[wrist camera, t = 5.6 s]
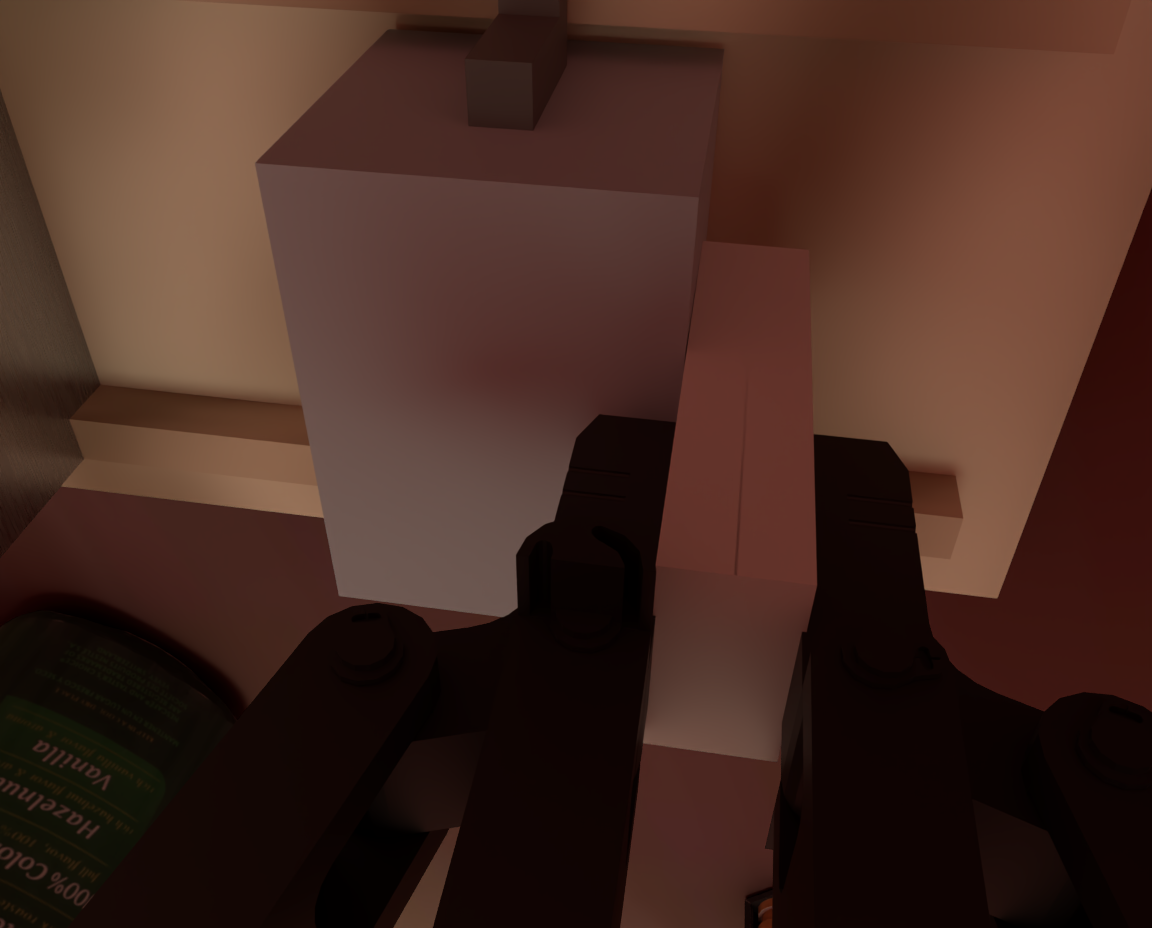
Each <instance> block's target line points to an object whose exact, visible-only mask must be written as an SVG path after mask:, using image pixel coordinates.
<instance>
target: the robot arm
mask: <svg viewBox="0 0 1152 928" xmlns="http://www.w3.org/2000/svg"><path fill="white" fill-rule="evenodd" d="M912 503H913V499H912V492H911V484H910V477H909V470H908V469H907V468H906V466H905V465H904V464H903V462H902V461H901V459H900V458H899V457H898V455H897V454H896V453H895V451H894V450H893V449H892V447H891V446H890V444H889V443H888V442H885V441H876V440H866V439H857V438H847V437H838V436H828V435H819V434H813V391H812V349H811V306H810V264H809V250H804V249H793V248H781V247H769V246H757V245H745V244H734V243H722V242H710V241H703V242H702V249H701V256H700V263H699V270H698V277H697V284H696V290H695V297H694V304H693V311H692V318H691V325H690V332H689V339H688V345H687V352H686V359H685V366H684V373H683V380H682V387H681V394H680V400H679V407H678V414H677V421H676V422H669V421H660V420H650V419H641V418H631V417H622V416H612V415H603V414H599V415H598V416H597V417H596V418H595V419H594V420H593V421H592V422H591V423H590V424H589V425H588V426H587V427H586V428H585V429H584V430H583V431H582V432H581V433H580V434H579V435H578V436H577V437H576V440H575V444H574V448H573V452H572V455H571V459H570V463H569V469H568V472H567V474H566V478H565V482H564V486H563V491H562V495H561V497H560V501H559V505H558V508H557V512H556V516H555V520H554V521H553V522H550V523H547V524H544V525H543V526H542V527H540V528H539V529H537V530H536V531H534V532H533V533H532V534H530V535H529V536H527V537H526V539H525V540H524V542H523V544H522V545H521V547H520V549H519V550H518V552H517V554H516V576H517V604H518V608H517V609H515V610H514V611H512V612H511V613H510V614H508V615H506V616H504V617H502V618H499V619H497V620H495V621H493V622H490V623H487V624H482V625H478V626H473V627H469V628H461V629H454V630H446V631H439V632H432V630H431V629H430V628H429V626H428V625H427V624H426V622H425V621H424V619H423V618H422V617H420V616H418V615H416V614H414V613H413V612H411V611H409V610H407V609H405V608H404V607H399V606H393V605H387V604H381V603H374V604H366V605H359V606H352V607H349V608H347V609H345V610H342V611H340V612H338V613H335V614H333V615H331V616H328V617H327V618H326V619H324V620H323V621H322V622H321V623H320V624H319V625H318V626H316V627H315V628H314V629H313V630H312V631H311V632H309V633H308V634H307V636H306V637H305V638H304V639H303V641H302V642H301V643H300V644H299V645H298V647H297V648H296V649H295V650H294V652H293V653H292V654H291V655H290V656H289V658H288V659H287V660H286V661H285V663H284V664H283V665H282V666H281V667H280V669H279V670H278V671H277V672H276V674H275V675H274V676H273V677H272V678H271V680H270V681H269V682H268V683H267V685H266V686H265V687H264V688H263V689H262V691H261V692H260V693H259V694H258V696H257V697H256V698H255V699H254V700H253V702H252V703H251V704H250V705H249V706H248V708H247V709H246V710H245V711H244V713H243V714H242V715H241V716H240V717H239V719H238V720H237V721H236V722H235V724H234V725H233V726H232V727H231V728H230V730H229V731H228V732H227V733H226V735H225V736H224V737H223V738H222V739H221V741H220V742H219V743H218V744H217V746H216V747H215V748H214V749H213V750H212V752H211V753H210V754H209V755H208V757H207V758H206V759H205V760H204V761H203V763H202V764H201V765H200V766H199V768H198V769H197V770H196V771H195V772H194V774H193V775H192V776H191V777H190V779H189V780H188V781H187V782H186V783H185V785H184V786H183V787H182V788H181V790H180V791H179V792H178V793H177V794H176V796H175V797H174V798H173V799H172V800H171V802H170V803H169V804H168V805H167V807H166V808H165V809H164V810H163V811H162V813H161V814H160V815H159V816H158V818H157V819H156V820H155V821H154V822H153V824H152V825H151V826H150V827H149V829H148V830H147V831H146V832H145V833H144V835H143V836H142V837H141V838H140V840H139V841H138V842H137V843H136V844H135V846H134V847H133V848H132V849H131V851H130V852H129V853H128V854H127V855H126V857H125V858H124V859H123V860H122V862H121V863H120V864H119V865H118V866H117V868H116V869H115V870H114V871H113V873H112V874H111V875H110V876H109V877H108V879H107V880H106V881H105V882H104V884H103V885H102V886H101V887H100V888H99V890H98V891H97V892H96V893H95V894H94V896H93V897H92V898H91V899H90V901H89V902H88V903H87V904H86V905H85V907H84V908H83V909H82V910H81V912H80V913H79V914H78V915H77V916H76V918H75V919H74V920H73V921H72V923H71V924H70V925H69V926H68V927H67V928H393V927H394V925H395V924H396V922H397V920H398V918H399V917H400V915H401V913H402V911H403V910H404V908H405V906H406V904H407V903H408V901H409V899H410V897H411V896H412V894H413V892H414V890H415V889H416V887H417V885H418V883H419V882H420V880H421V878H422V876H423V874H424V873H425V871H426V869H427V867H428V866H429V864H430V862H431V860H432V859H433V857H434V855H435V853H436V852H437V850H438V848H439V846H440V845H441V843H442V841H443V839H444V838H445V836H446V834H447V832H448V830H449V828H453V827H459V826H460V830H459V834H458V837H457V841H456V845H455V848H454V852H453V856H452V859H451V863H450V867H449V870H448V874H447V878H446V881H445V885H444V889H443V892H442V896H441V900H440V903H439V907H438V911H437V915H436V918H435V922H434V926H433V928H620V924H621V916H622V908H623V901H624V893H625V885H626V878H627V870H628V862H629V854H630V847H631V839H632V831H633V824H634V816H635V808H636V800H637V793H638V783H639V771H640V761H641V754H642V746H643V743H646V744H653V745H660V746H667V747H674V748H681V749H688V750H695V751H702V752H709V753H717V754H724V755H731V756H738V757H745V758H752V759H759V760H766V761H773V762H777V761H778V757H779V752H780V748H781V781H780V786H779V790H778V794H777V799H776V803H775V807H774V811H773V816H772V820H771V824H770V829H769V833H768V837H767V842H766V846H765V849H772V850H773V898H772V928H1152V712H1150V711H1149V710H1147V709H1146V708H1145V707H1143V706H1140V705H1138V704H1135V703H1132V702H1130V701H1127V700H1124V699H1122V698H1119V697H1116V696H1114V695H1106V694H1096V693H1086V692H1083V693H1079V694H1075V695H1071V696H1067V697H1063V698H1059V699H1058V700H1057V701H1056V702H1055V703H1054V704H1053V705H1051V706H1050V707H1049V708H1048V709H1047V710H1046V711H1045V712H1044V711H1041V710H1039V709H1036V708H1033V707H1031V706H1028V705H1026V704H1023V703H1021V702H1018V701H1016V700H1013V699H1010V698H1008V697H1005V696H1003V695H1000V694H998V693H996V692H993V691H991V690H989V689H987V688H985V687H983V686H981V685H979V684H977V683H975V682H974V681H973V680H971V679H970V678H968V677H967V676H966V675H964V674H963V673H961V672H960V671H959V670H957V669H956V667H955V666H954V665H953V664H952V663H951V662H950V661H949V658H948V656H947V653H946V651H945V649H944V648H943V647H942V646H941V645H940V644H939V643H938V642H937V640H936V639H935V638H934V637H933V635H932V632H931V628H930V625H929V619H928V612H927V604H926V597H925V589H924V582H923V574H922V567H921V559H920V552H919V544H918V537H917V533H916V522H915V514H914V508H912ZM781 743H782V746H781Z"/></svg>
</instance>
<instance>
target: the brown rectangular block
mask: <svg viewBox="0 0 1152 928" xmlns="http://www.w3.org/2000/svg"><path fill="white" fill-rule="evenodd" d="M100 385H101V384H100V381H99V378H98V375H97V373H96V370H95V367H94V364H93V361H92V358H91V355H90V352H89V349H88V346H87V343H86V340H85V337H84V334H83V331H82V328H81V325H80V322H79V320H78V317H77V314H76V311H75V308H74V305H73V302H72V299H71V296H70V293H69V290H68V287H67V284H66V281H65V278H64V275H63V272H62V269H61V266H60V264H59V261H58V258H57V255H56V252H55V249H54V246H53V243H52V240H51V237H50V234H49V231H48V228H47V225H46V222H45V219H44V216H43V213H42V210H41V208H40V205H39V202H38V199H37V196H36V193H35V190H34V187H33V184H32V181H31V178H30V175H29V172H28V169H27V166H26V163H25V160H24V157H23V154H22V152H21V149H20V146H19V143H18V140H17V137H16V134H15V131H14V128H13V125H12V122H11V119H10V116H9V113H8V110H7V107H6V104H5V101H4V98H3V96H2V93H1V90H0V558H1V556H2V555H3V554H4V553H5V552H6V550H7V549H8V548H9V547H10V546H11V545H12V543H13V542H14V541H15V540H16V539H17V537H18V536H19V535H20V534H21V533H22V532H23V530H24V529H25V528H26V527H27V526H28V524H29V523H30V522H31V521H32V520H33V519H34V517H35V516H36V515H37V514H38V513H39V512H40V510H41V509H42V508H43V507H44V506H45V504H46V503H47V502H48V501H49V500H50V499H51V497H52V496H53V495H54V494H55V493H56V491H57V490H58V489H59V488H60V487H61V486H62V484H63V483H64V482H65V481H66V480H67V478H68V477H69V476H70V475H71V474H72V473H73V471H74V470H75V469H76V468H77V467H78V466H79V464H80V463H81V462H82V461H83V460H84V457H83V455H82V452H81V449H80V447H79V444H78V441H77V438H76V436H75V433H74V430H73V428H72V425H71V422H70V420H69V419H70V418H71V417H72V416H73V415H74V414H75V412H76V411H77V410H78V409H79V408H80V407H81V406H82V405H83V404H84V403H85V401H86V400H87V399H88V398H89V397H90V396H91V395H92V394H93V393H94V392H95V390H96V389H97V388H98V387H99V386H100Z"/></svg>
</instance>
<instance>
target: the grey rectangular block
mask: <svg viewBox="0 0 1152 928" xmlns="http://www.w3.org/2000/svg"><path fill="white" fill-rule="evenodd" d="M498 13H499V14H498V15H497V17H496V18H495V19H494V20H493V22H492V23H491V24H490V26H489V27H488V28H487V30H486V31H485V32H484V34H483V35H481V34H464V33H448V32H431V31H414V30H397V29H388V30H387V31H386V32H385V33H384V34H383V35H382V36H381V37H380V38H379V39H378V40H377V41H376V42H375V43H374V44H373V45H372V46H371V47H370V48H369V49H368V50H367V51H366V52H365V53H364V54H363V55H362V56H361V57H360V58H359V59H358V60H357V61H356V62H355V63H354V64H353V65H352V66H351V67H350V68H349V69H348V70H347V71H346V72H345V73H344V74H343V75H342V76H341V77H340V78H339V79H338V80H337V81H336V82H335V83H334V84H333V85H332V86H331V87H330V88H329V89H328V90H327V91H326V92H325V93H324V94H323V95H322V96H321V97H320V98H319V99H318V100H317V101H316V102H315V103H314V104H313V105H312V106H311V107H310V108H309V109H308V110H307V111H306V112H305V113H304V114H303V115H302V116H301V117H300V118H299V119H298V120H297V121H296V122H295V123H294V124H293V125H292V126H291V127H290V128H289V129H288V130H287V131H286V132H285V133H284V134H283V135H282V136H281V137H280V138H279V139H278V140H277V141H276V142H275V143H274V144H273V145H272V146H271V147H270V148H269V149H268V150H267V151H266V152H265V153H264V154H263V155H262V156H261V157H260V158H259V159H258V160H257V161H256V162H255V167H256V172H257V177H258V182H259V188H260V193H261V198H262V203H263V208H264V213H265V218H266V223H267V229H268V234H269V239H270V244H271V249H272V254H273V259H274V265H275V270H276V275H277V280H278V285H279V290H280V295H281V300H282V306H283V311H284V316H285V321H286V326H287V331H288V336H289V341H290V347H291V352H292V357H293V362H294V367H295V372H296V377H297V383H298V388H299V393H300V398H301V403H302V408H303V413H304V418H305V424H306V429H307V434H308V439H309V444H310V449H311V454H312V459H313V465H314V470H315V475H316V480H317V485H318V490H319V495H320V501H321V506H322V511H323V516H324V521H325V526H326V531H327V536H328V542H329V547H330V552H331V557H332V562H333V567H334V572H335V577H336V583H337V588H338V593H339V596H344V597H352V598H360V599H367V600H375V601H383V602H391V603H398V604H406V605H414V606H422V607H429V608H437V609H445V610H453V611H460V612H468V613H476V614H484V615H491V616H499V617H504V616H506V615H508V614H510V613H511V612H512V611H514V610H515V609H517V608H518V604H517V576H516V554H517V552H518V550H519V549H520V547H521V545H522V544H523V542H524V540H525V539H526V537H527V536H529V535H530V534H532V533H533V532H534V531H536V530H537V529H539V528H540V527H542V526H543V525H544V524H547V523H550V522H553V521H554V520H555V516H556V512H557V508H558V505H559V501H560V497H561V495H562V491H563V486H564V482H565V478H566V474H567V472H568V469H569V463H570V459H571V455H572V452H573V448H574V444H575V440H576V437H577V436H578V435H579V434H580V433H581V432H582V431H583V430H584V429H585V428H586V427H587V426H588V425H589V424H590V423H591V422H592V421H593V420H594V419H595V418H596V417H597V416H598V415H599V414H603V415H612V416H622V417H631V418H641V419H650V420H660V421H669V422H676V421H677V414H678V407H679V400H680V394H681V387H682V380H683V373H684V366H685V359H686V352H687V345H688V339H689V332H690V325H691V318H692V311H693V304H694V297H695V290H696V284H697V277H698V270H699V263H700V256H701V249H702V242H703V241H706V239H707V228H708V217H709V207H710V196H711V185H712V175H713V164H714V154H715V143H716V132H717V122H718V111H719V100H720V90H721V79H722V69H723V58H724V49H716V48H699V47H682V46H666V45H649V44H632V43H615V42H599V41H582V40H567V0H498Z"/></svg>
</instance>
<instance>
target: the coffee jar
mask: <svg viewBox="0 0 1152 928" xmlns="http://www.w3.org/2000/svg"><path fill="white" fill-rule="evenodd" d="M236 721H237V720H236V718H235V717H234V715H233V714H232V712H231V711H230V710H229V708H228V707H227V706H226V705H225V703H224V702H223V701H222V700H221V699H220V698H219V697H218V696H217V695H216V694H215V693H213V692H212V691H211V690H210V689H209V688H208V687H207V686H206V685H205V684H204V683H203V682H202V681H201V680H200V679H199V678H198V676H197V675H196V674H195V673H194V672H193V671H192V670H191V669H189V668H188V667H187V666H186V665H184V664H183V663H182V662H181V661H179V660H178V659H176V658H175V657H173V656H172V655H170V654H169V653H167V652H166V651H164V650H162V649H161V648H159V647H158V646H156V645H154V644H152V643H150V642H148V641H146V640H144V639H142V638H140V637H138V636H136V635H133V634H131V633H129V632H127V631H123V630H119V629H115V628H111V627H108V626H104V625H102V624H99V623H95V622H92V621H89V620H86V619H84V618H79V617H75V616H71V615H66V614H62V613H57V612H55V611H36V612H32V613H28V614H24V615H21V616H18V617H16V618H14V619H12V620H10V621H9V622H7V623H5V624H4V625H2V626H1V627H0V928H67V927H68V926H69V925H70V924H71V923H72V921H73V920H74V919H75V918H76V916H77V915H78V914H79V913H80V912H81V910H82V909H83V908H84V907H85V905H86V904H87V903H88V902H89V901H90V899H91V898H92V897H93V896H94V894H95V893H96V892H97V891H98V890H99V888H100V887H101V886H102V885H103V884H104V882H105V881H106V880H107V879H108V877H109V876H110V875H111V874H112V873H113V871H114V870H115V869H116V868H117V866H118V865H119V864H120V863H121V862H122V860H123V859H124V858H125V857H126V855H127V854H128V853H129V852H130V851H131V849H132V848H133V847H134V846H135V844H136V843H137V842H138V841H139V840H140V838H141V837H142V836H143V835H144V833H145V832H146V831H147V830H148V829H149V827H150V826H151V825H152V824H153V822H154V821H155V820H156V819H157V818H158V816H159V815H160V814H161V813H162V811H163V810H164V809H165V808H166V807H167V805H168V804H169V803H170V802H171V800H172V799H173V798H174V797H175V796H176V794H177V793H178V792H179V791H180V790H181V788H182V787H183V786H184V785H185V783H186V782H187V781H188V780H189V779H190V777H191V776H192V775H193V774H194V772H195V771H196V770H197V769H198V768H199V766H200V765H201V764H202V763H203V761H204V760H205V759H206V758H207V757H208V755H209V754H210V753H211V752H212V750H213V749H214V748H215V747H216V746H217V744H218V743H219V742H220V741H221V739H222V738H223V737H224V736H225V735H226V733H227V732H228V731H229V730H230V728H231V727H232V726H233V725H234V724H235V722H236Z"/></svg>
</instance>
